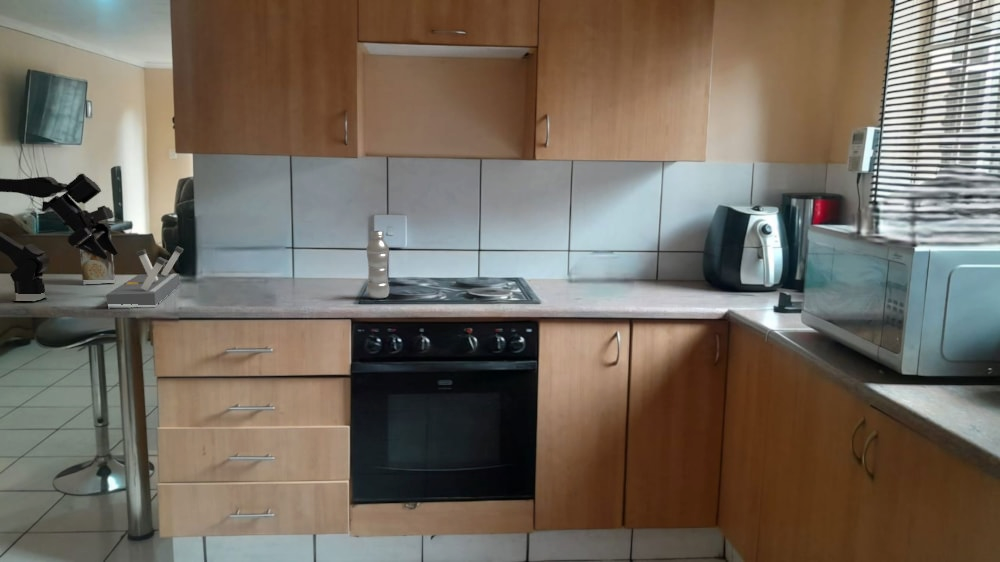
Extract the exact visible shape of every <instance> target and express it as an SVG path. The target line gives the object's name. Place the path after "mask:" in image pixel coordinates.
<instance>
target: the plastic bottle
mask: <svg viewBox="0 0 1000 562" xmlns="http://www.w3.org/2000/svg"><path fill="white" fill-rule="evenodd" d="M370 238H371V239H370V241H369V243H368V244H367V246H366V249H365V250H366V257H367V267H368V276H367V277H368V278H367V283H366V295H367V297H368V298H371V299H375V300H380V299H384V298H387V297H389V295H390V285H389V281H388V261H389V256H390V255H389V252H390V247H389V245H388V243H387V242H386V241H385V239H384V238H385V235H384V230H371V231H370Z"/></svg>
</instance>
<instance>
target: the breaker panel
mask: <svg viewBox="0 0 1000 562" xmlns="http://www.w3.org/2000/svg"><path fill="white" fill-rule="evenodd" d="M147 277H148V275H147V274H137V275H135V276H134V277H132V278H131V279H129V280H128V281H126V282H124V283H122V284H121V285H119V286H118V287H116V288H115V289H113V290H111V291H110V292H108V293H107V294H106V295H105V297H106V305H107V304H121V305H123V304H131V305H132V304H138V305H156V304H157V303H159V302H160V301H161V300H163V299H164V298H165V297H166V296H167V295H169V294H170V293H171V292H172V291H173V290H174V289H176V288H177V287H178V286H179V285H180V286H181V282H180V281H181V280H180V273H168V275H167V276H164V275H163V274H161V273H158V274H157V277H158V280H157V281H155V282H152V284H151V286H150V287H149V289H148V290H147V291H146V290H144V289H142V288H141V287H142V285H143V283H144V282H145V280H146V278H147ZM178 288H179V287H178ZM178 288H177V289H178ZM177 289H176V290H177ZM170 295H171V294H170ZM170 295H169V296H170Z"/></svg>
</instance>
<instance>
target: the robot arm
mask: <svg viewBox="0 0 1000 562" xmlns="http://www.w3.org/2000/svg"><path fill="white" fill-rule="evenodd" d="M101 192H102V190H101V188H100V186H99V185H98V184H97V183H96V182H95V181H93V180H92V179H91V178H89V177H88V176H87V175H85V173H80V174H78V175H77V176H76V178H74V179H73V180H71V181H70V182H69V183H68V184H67V183H62V182H58V181H57V179H55V178H54V177H52V176H38V177H29V178H22V179H21V178H20V179H19V178H0V193H16V194H22V195H25V196H30V197H34V198H41V199H45V198H51V199H49V200H48V201H42V206H41V211H42V212H49V211H50V210H52V211H53V212H54V214H55V215H57V216H58V217H59V218H60V220H61V221H62V222H63V223H62V225H63V226H64V227H68V228H69V229H70V230H71V231H72V233H71V234H70V235H69V236H68V237H67V243H68V244H69V245H70V246H71V247H73V248H74V247H75V248H77V249H79V250H80V249H81V250H84V251H86V252H89V253H91V254H93V255H96V256H98V257H100V258H102V259H107V258H108V256H107V254H106V253H105V252H104V250H106V251H107V252H109V253H111V254H113V256H117V255H118V254H119V252H118V250H117V248H116V246H115V244H114V242H113V240H112V237H111V238H110V233H111V232H112V226H111V225H110V224H109V223H108V222H104V221H106V220H108V219H109V220H111V219H112V218H114V216H113V214H112V213H113V209H111V208H110V207H107V206H105V205H101V206H98V207H97V209H96V210H93V211H90V212H89V211H88V210H85V209H82V208H81V207H80V206H79V205H78V204H80V203H82V204H87V203H88V202H89V201H91V200H92V199H93V198H94V197H96V196H97V195H99V194H100V193H101ZM61 193H63V194H62V195H60V196H58V195H57V194H61ZM101 221H103V222H101ZM79 243H80V244H79ZM103 249H104V250H103ZM0 252H1V253H3V254H4V255H6V256H7V257H8V258H9V260H10V261H11V262H12V265H14V266H15V267H16V269H15V270H13V271H12V272H11V273H10V274H9V276H10V278H11V280H12V282H13V286H14V294H15V293H18V294H41V293H44V292H45V293H46V289H45V286H46V285H45V283H43V282H44V281H43V279H44V278H42V277H43V275H44V272H45V271H46V270H48V269H49V267H50V258H49V257H48V255H47V254H45V253H46V251H45V250H41V249H40V248H39V247H37V246H36V245H35V244H34V243H30V244H27V245H22V244H20V243H19V242H18V241H16V240H15V239H12V238H11V237H10V236H8V235H6V233H5V234H4V233H3V232H2V231H0Z"/></svg>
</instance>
